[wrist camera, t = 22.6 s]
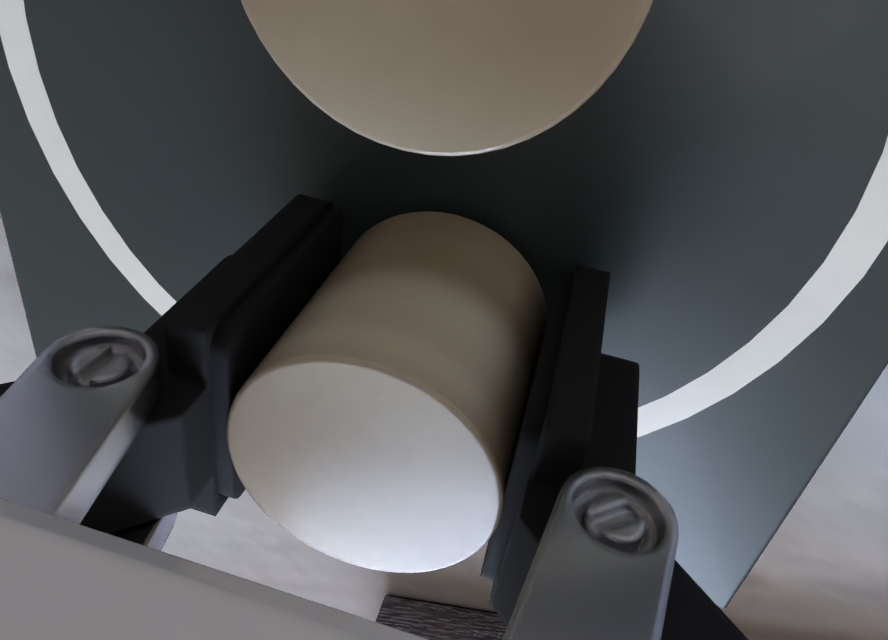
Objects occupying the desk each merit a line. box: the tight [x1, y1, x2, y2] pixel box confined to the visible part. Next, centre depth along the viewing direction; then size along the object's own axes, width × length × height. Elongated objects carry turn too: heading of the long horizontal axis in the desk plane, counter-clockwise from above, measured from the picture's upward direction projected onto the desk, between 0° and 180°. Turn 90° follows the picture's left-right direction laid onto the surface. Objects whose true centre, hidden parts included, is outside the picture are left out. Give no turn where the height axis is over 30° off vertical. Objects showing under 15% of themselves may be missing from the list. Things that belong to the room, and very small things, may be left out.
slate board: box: [0, 0, 888, 608], centre depth 11 cm, size 18×16×1 cm
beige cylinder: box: [227, 211, 547, 573], centre depth 10 cm, size 4×4×4 cm
